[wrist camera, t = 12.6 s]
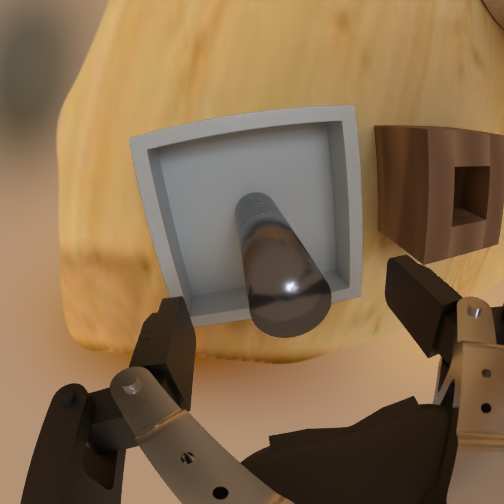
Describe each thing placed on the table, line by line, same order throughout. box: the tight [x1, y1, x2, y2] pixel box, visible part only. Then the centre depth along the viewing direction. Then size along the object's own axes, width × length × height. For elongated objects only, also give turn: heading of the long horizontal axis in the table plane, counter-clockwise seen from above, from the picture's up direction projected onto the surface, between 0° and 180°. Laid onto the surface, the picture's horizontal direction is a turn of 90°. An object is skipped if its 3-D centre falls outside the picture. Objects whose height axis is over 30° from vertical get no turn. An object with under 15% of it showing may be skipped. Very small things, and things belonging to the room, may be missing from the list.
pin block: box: [374, 125, 504, 265], centre depth 19 cm, size 9×9×7 cm
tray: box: [129, 105, 363, 327], centre depth 20 cm, size 14×14×4 cm
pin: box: [235, 192, 332, 338], centre depth 16 cm, size 3×3×12 cm
